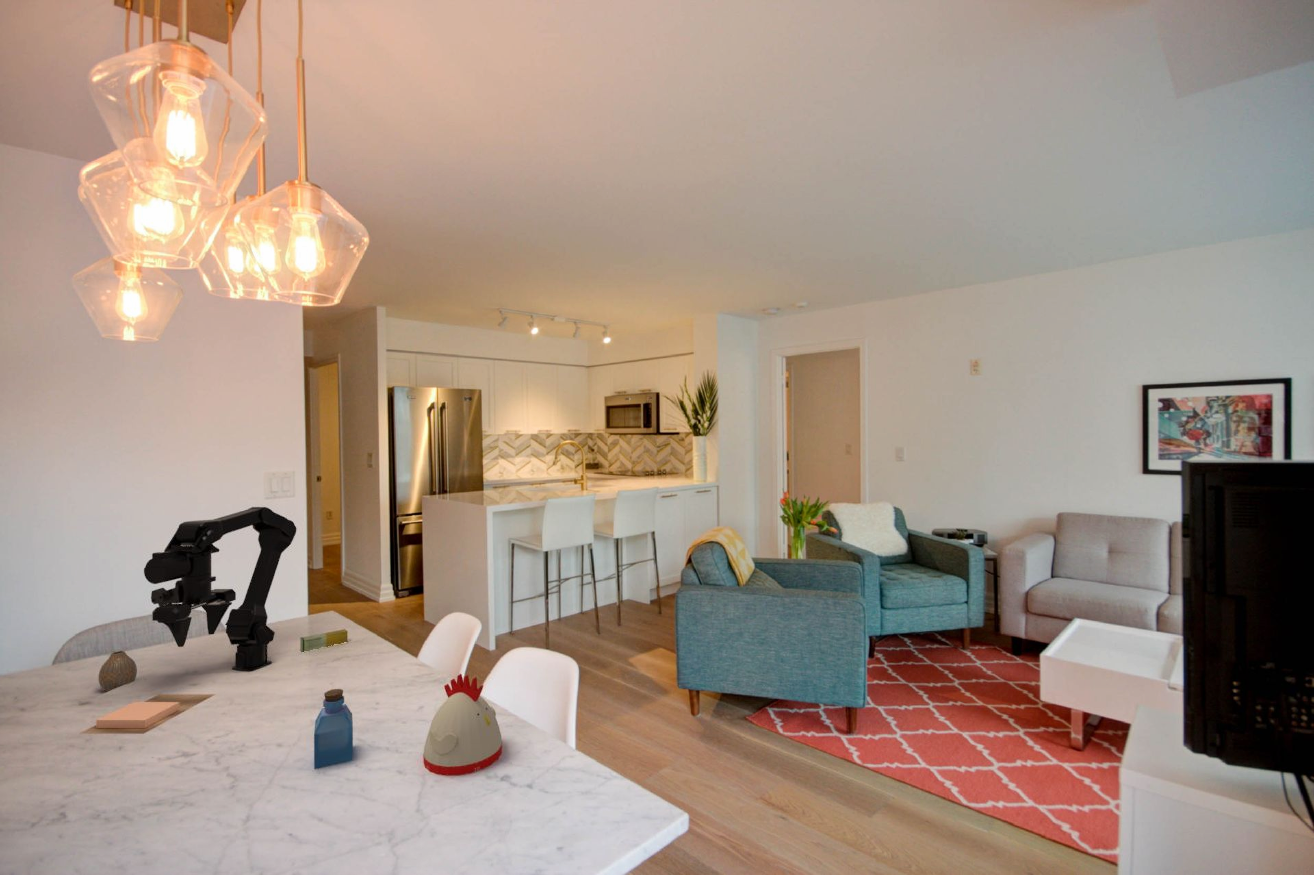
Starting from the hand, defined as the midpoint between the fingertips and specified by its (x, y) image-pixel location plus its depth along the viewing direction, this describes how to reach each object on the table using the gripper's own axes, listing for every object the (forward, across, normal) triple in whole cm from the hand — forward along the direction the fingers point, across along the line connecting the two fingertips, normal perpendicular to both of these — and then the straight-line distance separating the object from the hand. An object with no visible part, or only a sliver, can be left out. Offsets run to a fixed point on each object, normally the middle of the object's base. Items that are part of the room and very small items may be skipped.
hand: (196, 640), depth 145 cm
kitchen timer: (+12, +29, +74) cm, 80 cm away
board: (+12, +15, +2) cm, 19 cm away
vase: (+12, -1, -20) cm, 24 cm away
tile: (+10, +14, +2) cm, 17 cm away
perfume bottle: (+12, +30, +50) cm, 60 cm away
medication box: (+12, -32, +12) cm, 36 cm away
